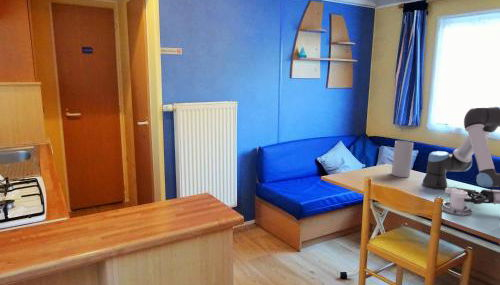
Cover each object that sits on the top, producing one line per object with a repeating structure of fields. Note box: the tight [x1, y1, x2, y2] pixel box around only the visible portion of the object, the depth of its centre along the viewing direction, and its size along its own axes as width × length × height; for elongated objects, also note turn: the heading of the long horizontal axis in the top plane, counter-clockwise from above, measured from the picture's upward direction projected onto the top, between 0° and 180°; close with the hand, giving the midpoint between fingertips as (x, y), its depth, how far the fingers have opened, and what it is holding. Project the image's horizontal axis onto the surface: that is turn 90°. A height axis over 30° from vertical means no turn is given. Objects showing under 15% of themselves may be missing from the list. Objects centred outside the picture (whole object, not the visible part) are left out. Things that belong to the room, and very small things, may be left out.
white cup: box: [449, 188, 468, 210], centre depth 199 cm, size 8×8×10 cm
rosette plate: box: [442, 200, 474, 217], centre depth 201 cm, size 16×16×3 cm
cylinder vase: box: [391, 140, 414, 178], centre depth 265 cm, size 12×12×25 cm
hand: (451, 194), depth 200 cm, fingers open, 13 cm apart
